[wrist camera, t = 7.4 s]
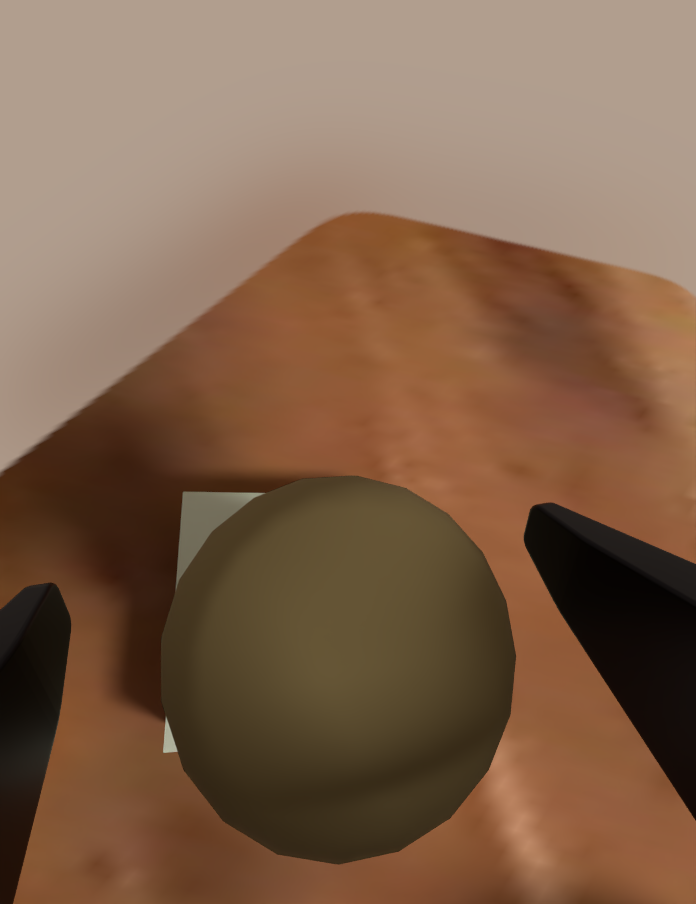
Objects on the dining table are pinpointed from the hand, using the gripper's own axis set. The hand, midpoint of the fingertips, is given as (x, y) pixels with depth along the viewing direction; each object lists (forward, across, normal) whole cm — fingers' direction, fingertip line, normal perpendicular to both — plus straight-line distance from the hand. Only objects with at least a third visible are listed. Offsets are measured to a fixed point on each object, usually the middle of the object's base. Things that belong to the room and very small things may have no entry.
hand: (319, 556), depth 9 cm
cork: (+5, 0, +7) cm, 8 cm away
